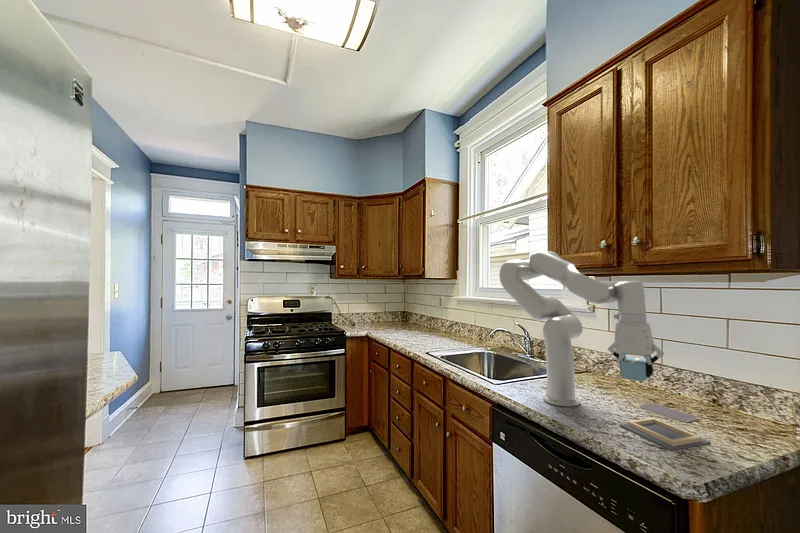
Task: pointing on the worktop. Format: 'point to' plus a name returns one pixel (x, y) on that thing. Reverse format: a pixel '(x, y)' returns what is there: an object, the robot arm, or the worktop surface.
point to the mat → (664, 434)
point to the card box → (634, 369)
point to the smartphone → (669, 412)
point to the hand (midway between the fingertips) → (636, 374)
